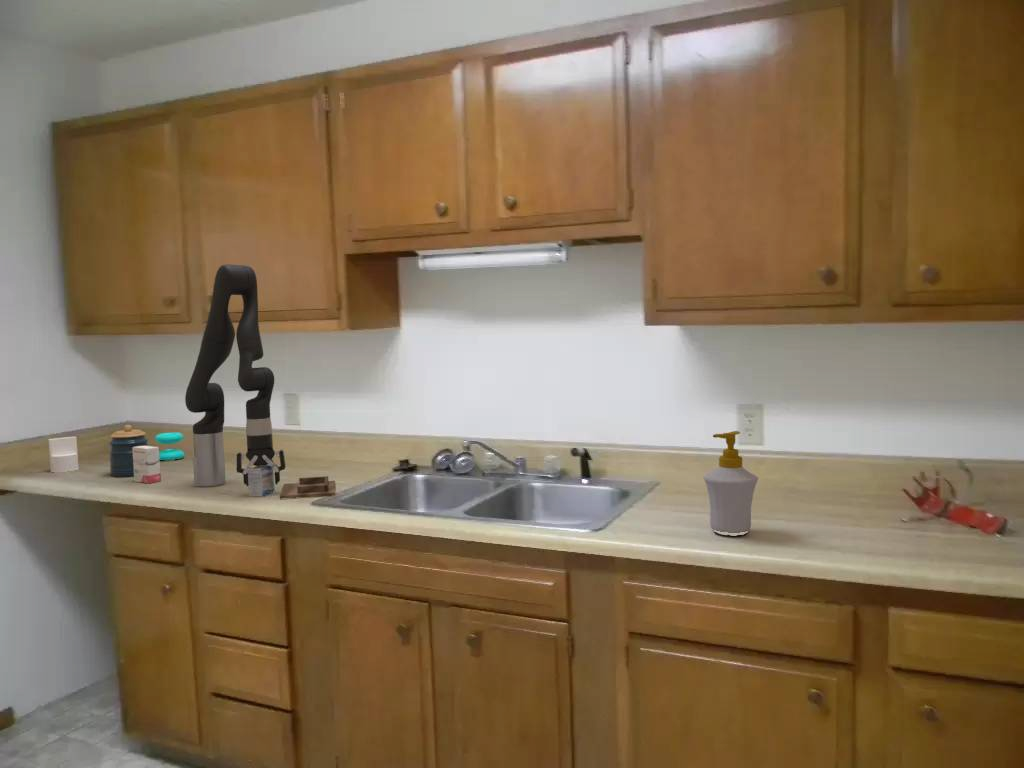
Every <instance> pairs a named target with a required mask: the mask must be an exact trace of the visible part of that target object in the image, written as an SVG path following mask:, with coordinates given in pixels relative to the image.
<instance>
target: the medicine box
mask: <svg viewBox="0 0 1024 768" xmlns="http://www.w3.org/2000/svg"><path fill="white" fill-rule="evenodd" d="M248 481H249V486H248V492H249V493H248V495H249V498H250V497H251V498H263V497H262V496H264V497H266V496H268V495H270V494H272V493H274V492H275V473H274V469H273V468H272V467H271V466H270V465H269V464H268V465H266V466H263V465H260V466H255V467H251V468H250V469H248ZM273 491H274V492H273ZM271 492H272V493H271ZM269 493H270V494H269ZM267 494H268V495H267ZM265 495H266V496H265Z"/></svg>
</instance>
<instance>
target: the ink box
mask: <svg viewBox="0 0 1024 768" xmlns="http://www.w3.org/2000/svg"><path fill="white" fill-rule="evenodd" d="M159 450H160V449H159V447H158V446H151V445H148V446H137V447H133V448H132V451H133V467H134V476H133V479H134V482H136V483H137V482H138V483H143V482H144V483H145V484H152V483H157V481H158V482H161V481H162V475H161V461H160V460H159V452H160V451H159Z"/></svg>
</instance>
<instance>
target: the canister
mask: <svg viewBox="0 0 1024 768" xmlns="http://www.w3.org/2000/svg"><path fill="white" fill-rule="evenodd" d="M146 434H147V432H145V431H142V429H133V427H132V425H131V424H125V425H124V427H123V430H117V431H115V432H114V433H113V434H111V435H110V437H111V440H109V441H108V444H109V446H110V448H109V451H108V453H109V463H110V465H109V466H110V469H109V471H110V475H111V476H112V477H115V478H128V477H129V478H130V477H131V478H132V477H134V467H133V451H132V448H133V447H137V446H149V445H148V443H149V441H150V439H149V438H147V437H146V436H145V435H146Z"/></svg>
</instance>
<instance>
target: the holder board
mask: <svg viewBox="0 0 1024 768" xmlns="http://www.w3.org/2000/svg"><path fill="white" fill-rule="evenodd" d="M335 493H336V481H335V480H329V476H328V475H326V476H311V477H310V476H308V477H299V478H298V482H294V483H292V482H291V483H283V485H282V488H281V492H280V494H279V499H280V498H292V499H297V498H296V497H307V498H319V497H320V498H322V497H333V496H332V495H335V496H336V494H335Z"/></svg>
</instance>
